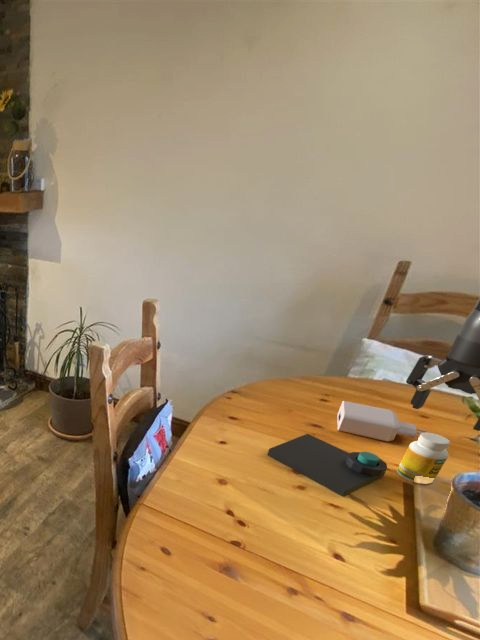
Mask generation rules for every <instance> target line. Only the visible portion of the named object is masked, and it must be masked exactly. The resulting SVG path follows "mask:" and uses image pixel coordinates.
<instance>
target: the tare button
mask: <svg viewBox="0 0 480 640" xmlns="http://www.w3.org/2000/svg"><path fill="white" fill-rule="evenodd" d="M359 452H360V454H359V456H358V458H357V460H358V461H359V462H361V463H363V464H365V465H369V466H376V465H377V463H378V461H379V458H380V457H379V456H378V455H377V454H375V453H373V452H370V451H359Z"/></svg>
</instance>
